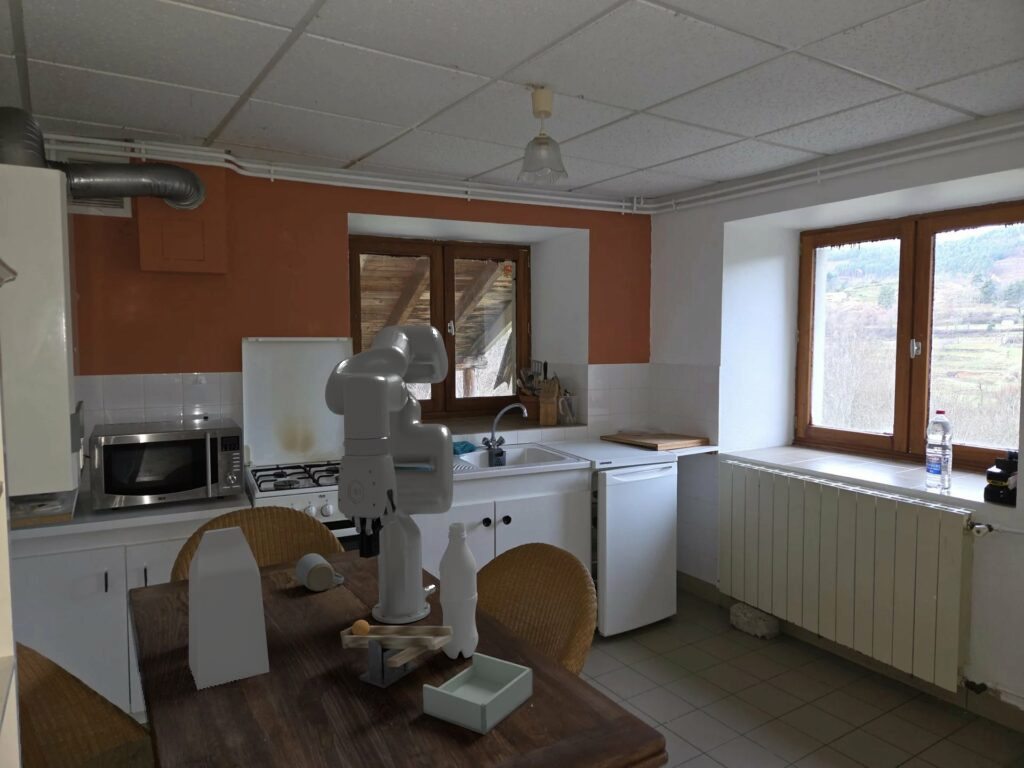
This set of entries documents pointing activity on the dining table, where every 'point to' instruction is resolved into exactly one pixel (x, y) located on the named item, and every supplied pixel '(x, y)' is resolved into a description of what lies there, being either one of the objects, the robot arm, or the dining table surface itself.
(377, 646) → the fulcrum
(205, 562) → the milk
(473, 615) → the water bottle
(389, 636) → the lever
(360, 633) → the ball
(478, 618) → the dining table surface
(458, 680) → the tray
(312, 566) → the ceramic mug
